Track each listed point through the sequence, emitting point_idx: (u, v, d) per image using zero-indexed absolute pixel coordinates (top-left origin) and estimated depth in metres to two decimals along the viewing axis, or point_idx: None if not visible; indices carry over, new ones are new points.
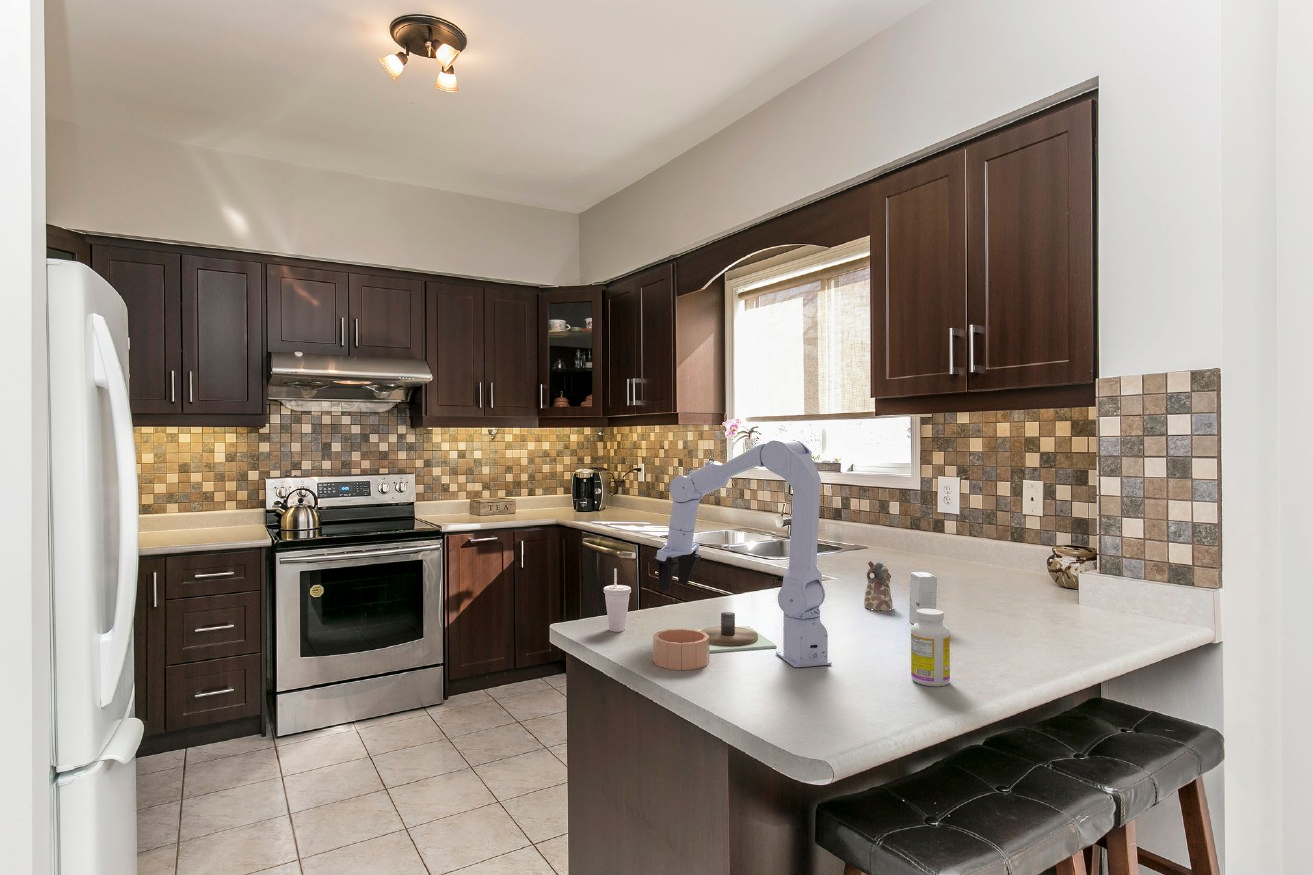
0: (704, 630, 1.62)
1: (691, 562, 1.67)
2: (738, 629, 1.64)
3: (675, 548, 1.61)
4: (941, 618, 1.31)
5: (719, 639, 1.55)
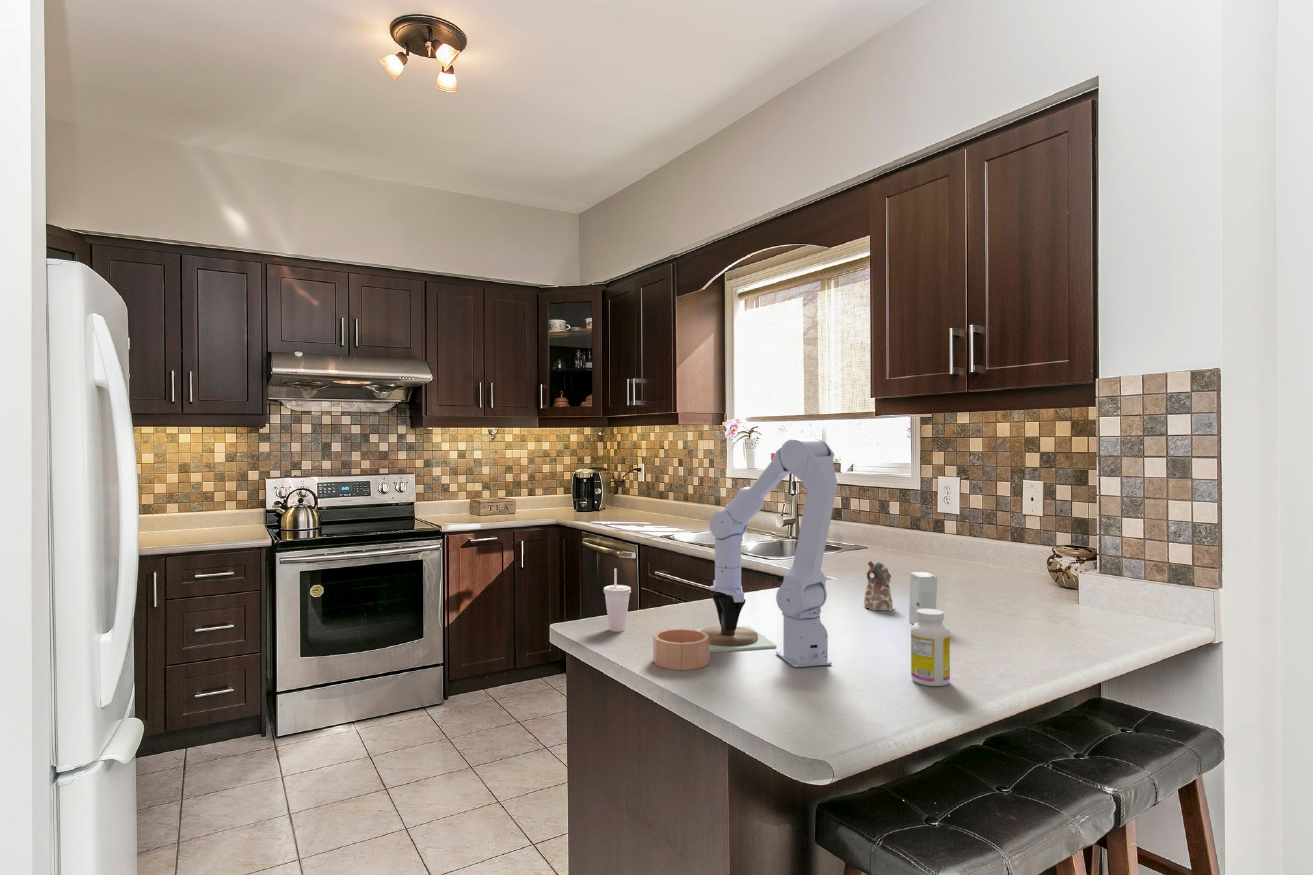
0: (704, 630, 1.62)
1: None
2: (738, 628, 1.64)
3: (735, 587, 1.57)
4: (941, 618, 1.31)
5: (719, 639, 1.55)
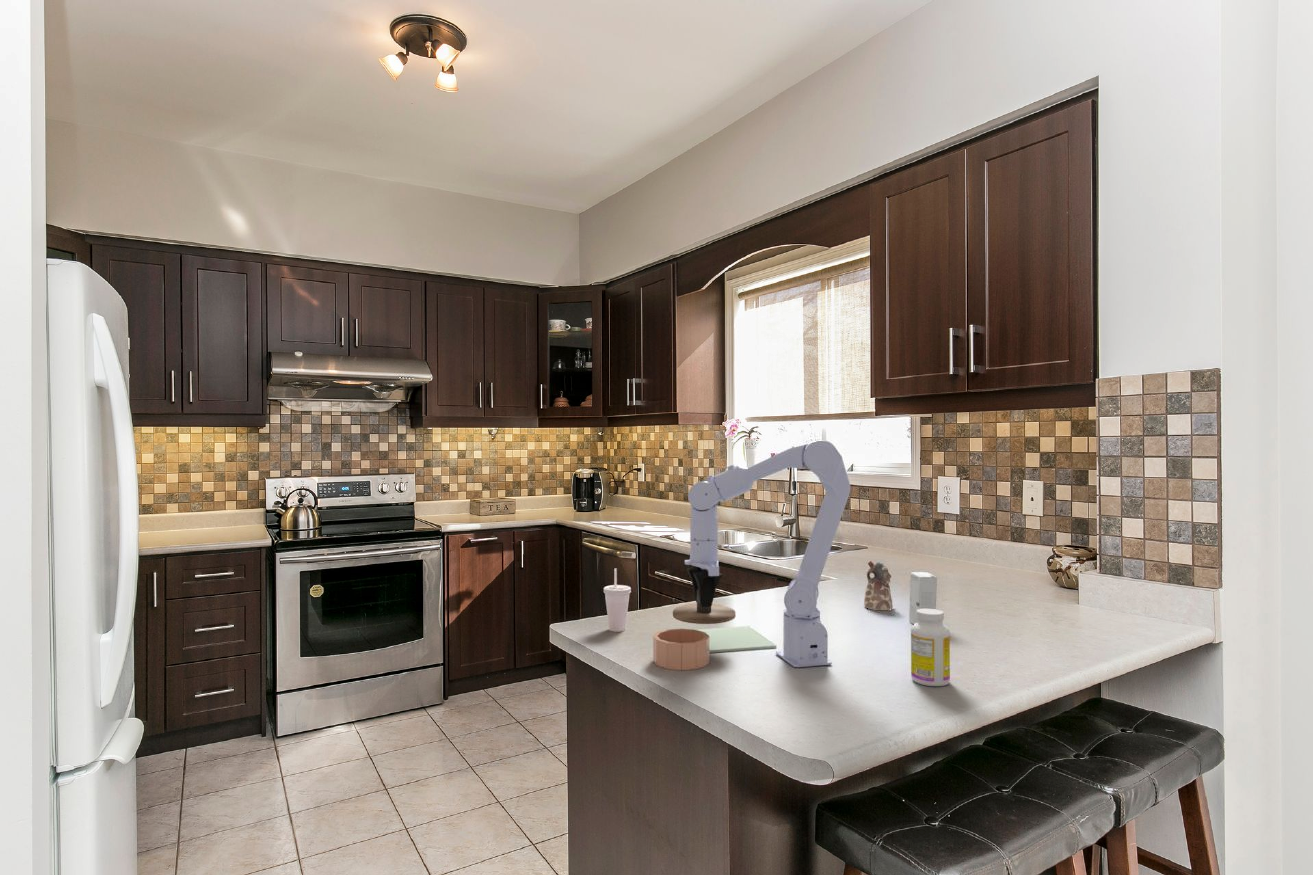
0: (679, 608, 1.54)
1: None
2: (715, 606, 1.56)
3: (711, 560, 1.49)
4: (941, 618, 1.31)
5: (695, 616, 1.47)
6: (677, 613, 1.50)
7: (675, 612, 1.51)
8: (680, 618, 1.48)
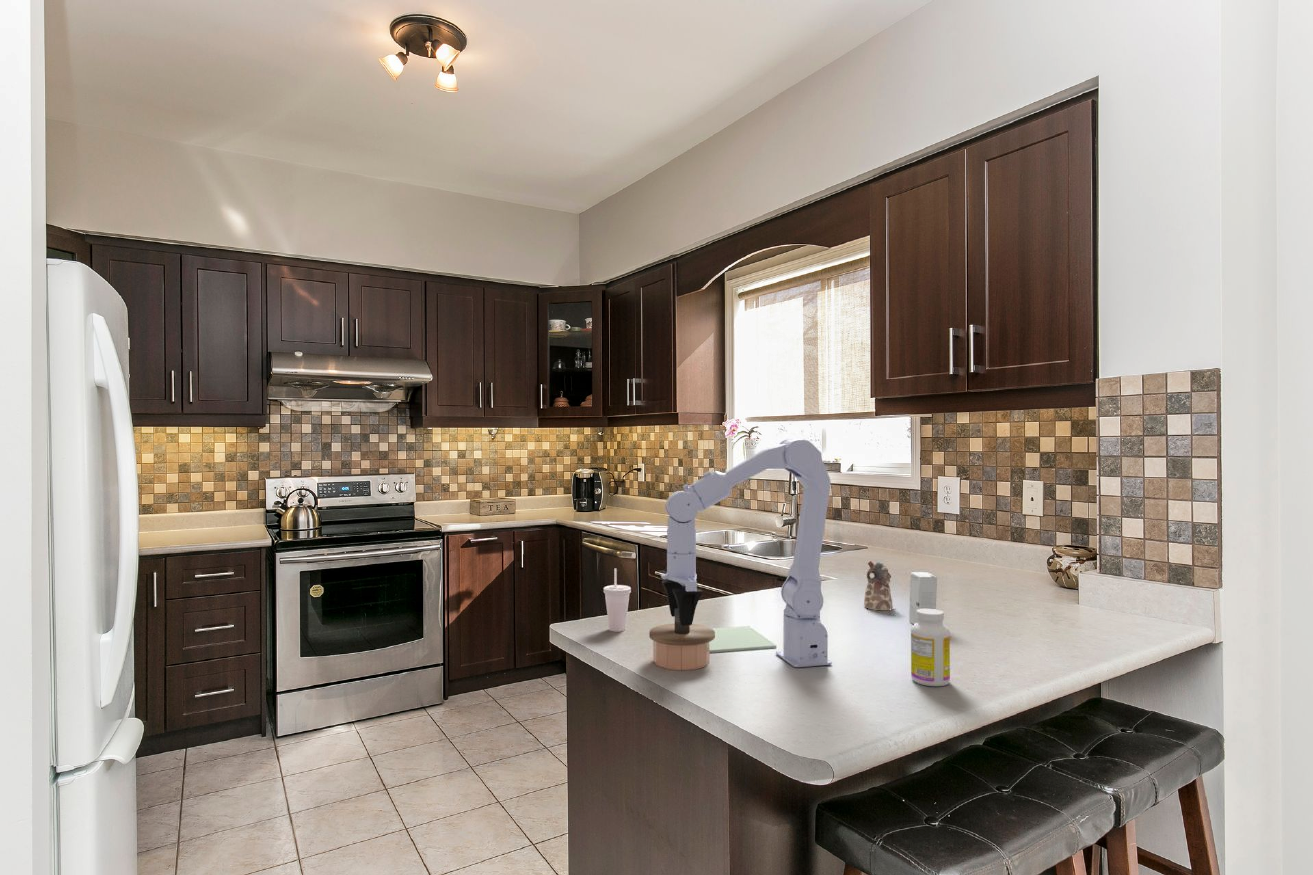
0: (656, 628, 1.47)
1: None
2: (693, 626, 1.49)
3: (688, 575, 1.42)
4: (941, 618, 1.31)
5: (673, 637, 1.40)
6: (654, 634, 1.43)
7: (652, 633, 1.44)
8: (657, 639, 1.40)
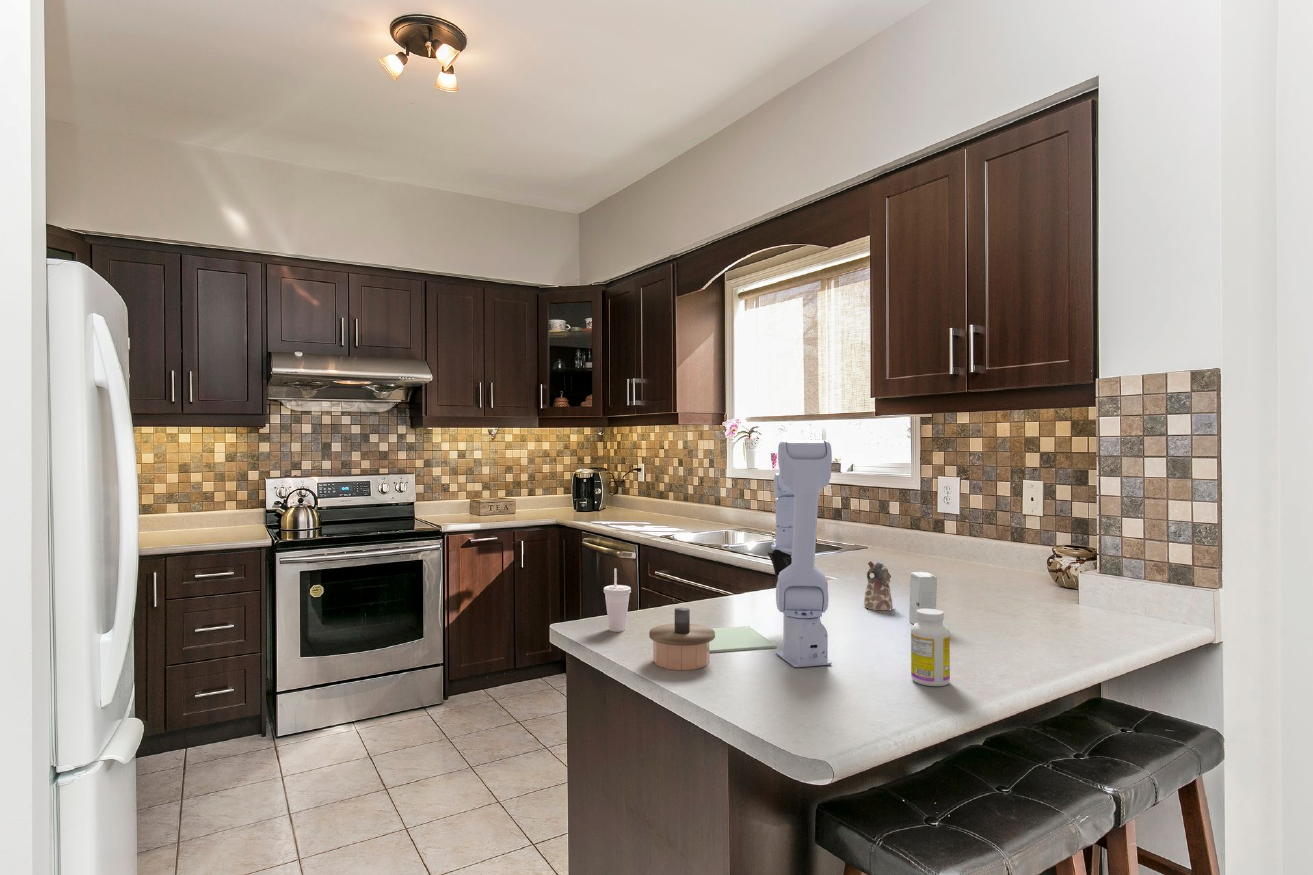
0: (656, 628, 1.47)
1: None
2: (693, 626, 1.49)
3: None
4: (941, 618, 1.31)
5: (673, 637, 1.40)
6: (654, 634, 1.43)
7: (652, 633, 1.44)
8: (657, 639, 1.40)
